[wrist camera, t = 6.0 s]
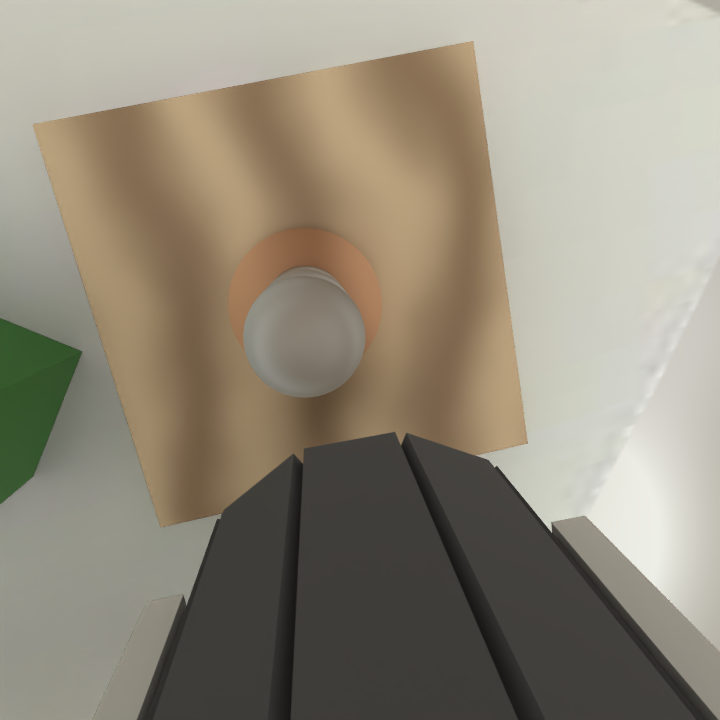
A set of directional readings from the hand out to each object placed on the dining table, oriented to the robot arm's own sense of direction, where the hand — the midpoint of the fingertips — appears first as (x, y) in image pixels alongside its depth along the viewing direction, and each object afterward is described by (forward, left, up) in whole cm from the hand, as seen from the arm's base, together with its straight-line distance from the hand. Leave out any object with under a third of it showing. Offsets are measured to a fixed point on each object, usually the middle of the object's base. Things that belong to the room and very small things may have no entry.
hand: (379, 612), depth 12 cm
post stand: (0, +5, -18) cm, 18 cm away
